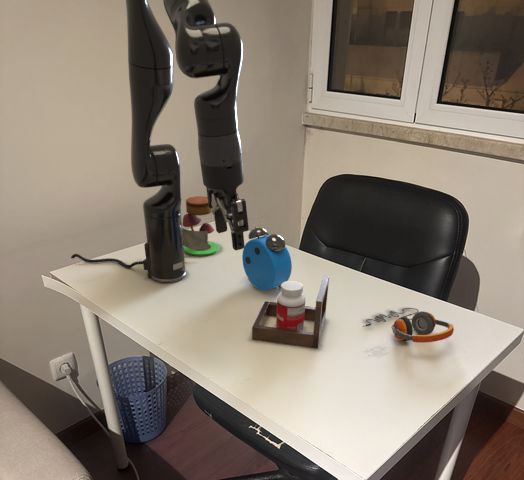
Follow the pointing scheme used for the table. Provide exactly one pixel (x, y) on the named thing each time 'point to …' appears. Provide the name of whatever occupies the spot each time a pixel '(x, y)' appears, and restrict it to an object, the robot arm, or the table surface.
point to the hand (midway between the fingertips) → (230, 240)
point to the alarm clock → (266, 260)
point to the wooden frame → (289, 335)
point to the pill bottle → (291, 306)
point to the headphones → (417, 327)
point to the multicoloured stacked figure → (198, 240)
